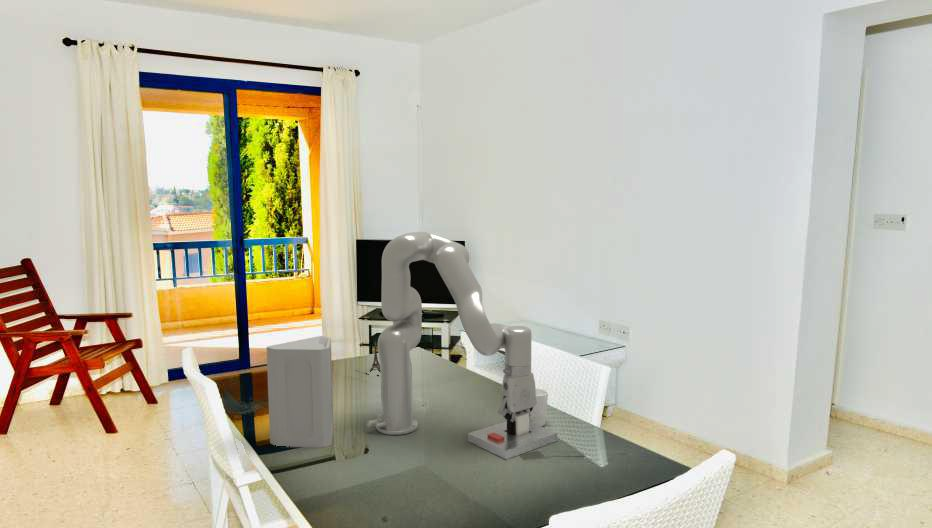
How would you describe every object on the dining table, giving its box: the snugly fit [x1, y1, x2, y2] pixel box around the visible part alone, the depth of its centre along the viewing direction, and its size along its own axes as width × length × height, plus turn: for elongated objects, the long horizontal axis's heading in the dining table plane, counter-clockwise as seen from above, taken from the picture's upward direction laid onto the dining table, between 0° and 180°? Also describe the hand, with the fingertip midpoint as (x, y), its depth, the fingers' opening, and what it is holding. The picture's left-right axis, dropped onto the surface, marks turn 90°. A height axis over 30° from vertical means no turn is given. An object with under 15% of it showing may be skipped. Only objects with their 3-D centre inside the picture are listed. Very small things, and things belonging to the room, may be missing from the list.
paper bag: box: [266, 335, 334, 448], centre depth 173 cm, size 19×15×28 cm
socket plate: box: [467, 420, 559, 460], centre depth 172 cm, size 20×16×3 cm
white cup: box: [529, 387, 549, 427], centre depth 186 cm, size 8×8×10 cm
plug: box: [510, 411, 529, 437], centre depth 173 cm, size 4×4×7 cm
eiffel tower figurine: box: [369, 340, 380, 372], centre depth 245 cm, size 15×10×13 cm
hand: (517, 430), depth 173 cm, fingers closed on plug, 4 cm apart
